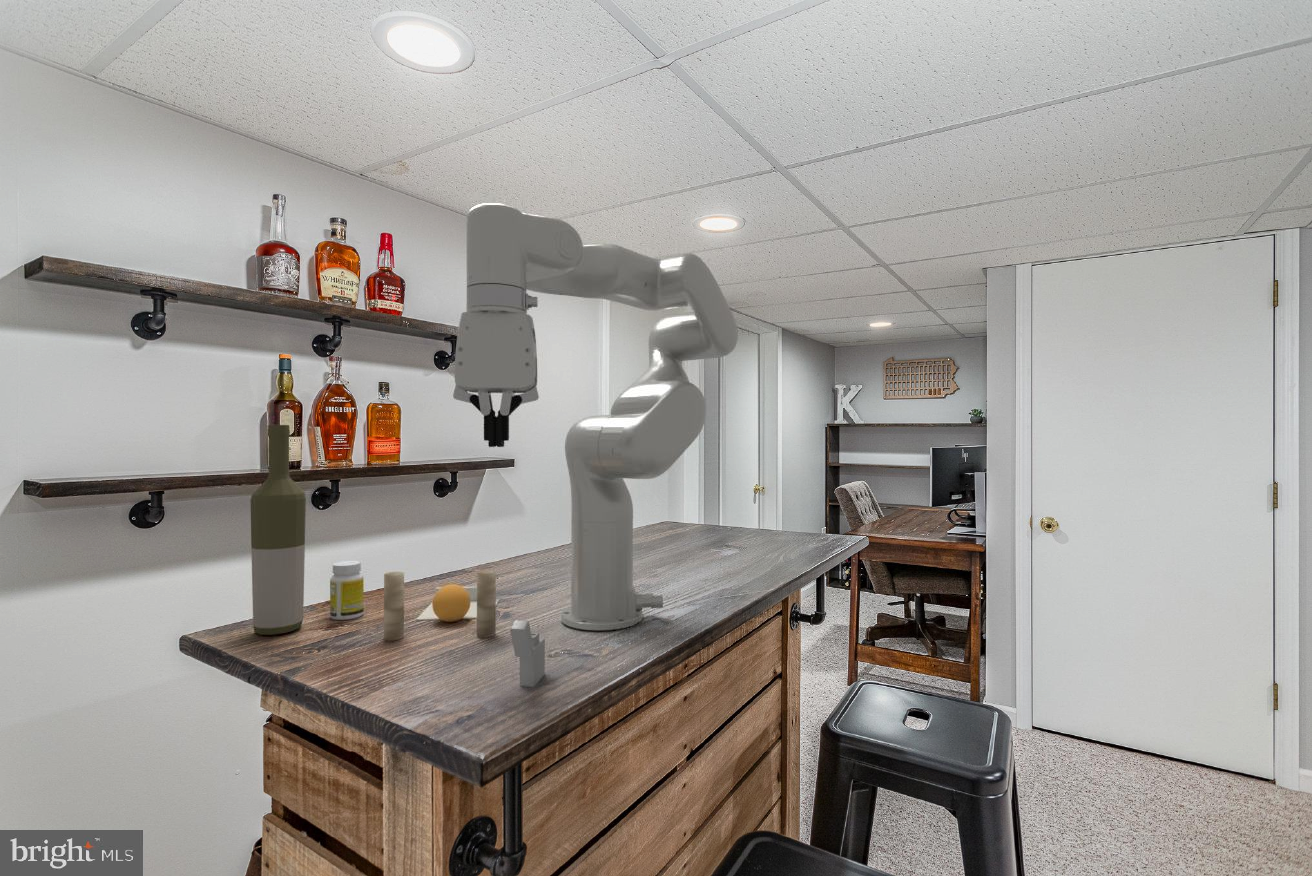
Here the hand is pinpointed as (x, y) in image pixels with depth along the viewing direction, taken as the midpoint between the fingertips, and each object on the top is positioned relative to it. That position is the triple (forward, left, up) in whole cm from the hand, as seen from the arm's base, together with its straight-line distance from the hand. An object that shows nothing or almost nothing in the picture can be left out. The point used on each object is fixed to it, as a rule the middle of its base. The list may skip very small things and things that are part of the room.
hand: (496, 446), depth 82 cm
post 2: (+3, -9, -27) cm, 29 cm away
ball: (+9, -16, -24) cm, 31 cm away
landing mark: (+9, -23, -27) cm, 37 cm away
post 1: (+15, -9, -27) cm, 32 cm away
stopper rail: (+9, -28, -27) cm, 40 cm away
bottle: (+33, -14, -27) cm, 45 cm away
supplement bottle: (+26, -21, -27) cm, 43 cm away
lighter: (-5, +10, -27) cm, 30 cm away
